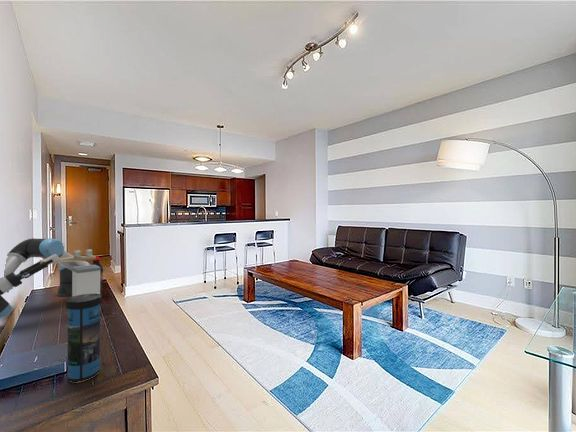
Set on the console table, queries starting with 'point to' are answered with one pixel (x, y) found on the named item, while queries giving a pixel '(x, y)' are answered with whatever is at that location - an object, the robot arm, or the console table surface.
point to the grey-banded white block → (85, 280)
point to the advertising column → (83, 336)
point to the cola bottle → (95, 262)
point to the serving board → (76, 257)
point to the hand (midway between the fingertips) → (57, 256)
